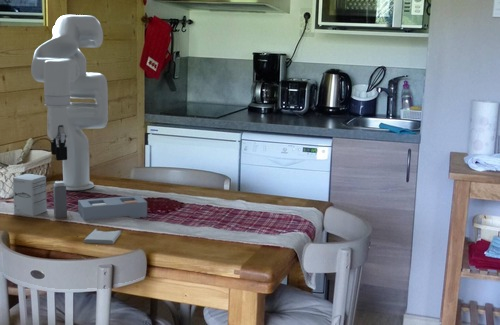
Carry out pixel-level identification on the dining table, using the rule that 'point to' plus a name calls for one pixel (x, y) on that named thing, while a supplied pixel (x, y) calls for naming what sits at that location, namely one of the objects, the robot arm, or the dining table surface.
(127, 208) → the socket block
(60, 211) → the plug
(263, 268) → the dining table surface
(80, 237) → the dining table surface
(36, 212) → the supplement box
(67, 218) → the grey flat plate
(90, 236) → the external hard drive
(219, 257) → the dining table surface
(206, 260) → the dining table surface
